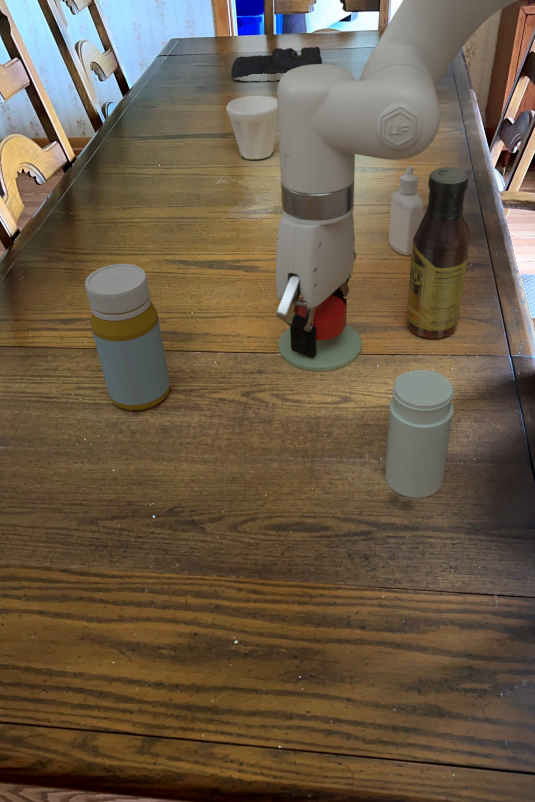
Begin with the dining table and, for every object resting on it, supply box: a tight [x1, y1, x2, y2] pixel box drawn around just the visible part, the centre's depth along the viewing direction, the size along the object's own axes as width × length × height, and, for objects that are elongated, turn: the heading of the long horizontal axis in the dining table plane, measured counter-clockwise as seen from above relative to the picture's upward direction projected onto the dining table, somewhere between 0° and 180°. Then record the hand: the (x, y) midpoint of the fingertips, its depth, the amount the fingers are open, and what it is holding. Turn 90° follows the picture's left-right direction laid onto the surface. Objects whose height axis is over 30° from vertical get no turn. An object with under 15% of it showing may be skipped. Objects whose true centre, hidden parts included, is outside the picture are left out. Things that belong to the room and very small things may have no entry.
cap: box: [297, 295, 347, 340], centre depth 84 cm, size 6×6×2 cm
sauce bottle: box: [406, 166, 471, 340], centre depth 82 cm, size 6×6×20 cm
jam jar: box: [384, 369, 455, 499], centre depth 66 cm, size 6×6×11 cm
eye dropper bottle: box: [388, 166, 424, 257], centre depth 100 cm, size 4×6×12 cm
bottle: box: [84, 263, 171, 412], centre depth 77 cm, size 7×7×15 cm
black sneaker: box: [231, 46, 323, 78], centre depth 173 cm, size 15×22×5 cm
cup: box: [225, 95, 278, 159], centre depth 132 cm, size 10×10×9 cm
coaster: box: [278, 324, 363, 372], centre depth 86 cm, size 10×10×1 cm
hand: (319, 337), depth 86 cm, fingers closed on cap, 6 cm apart
